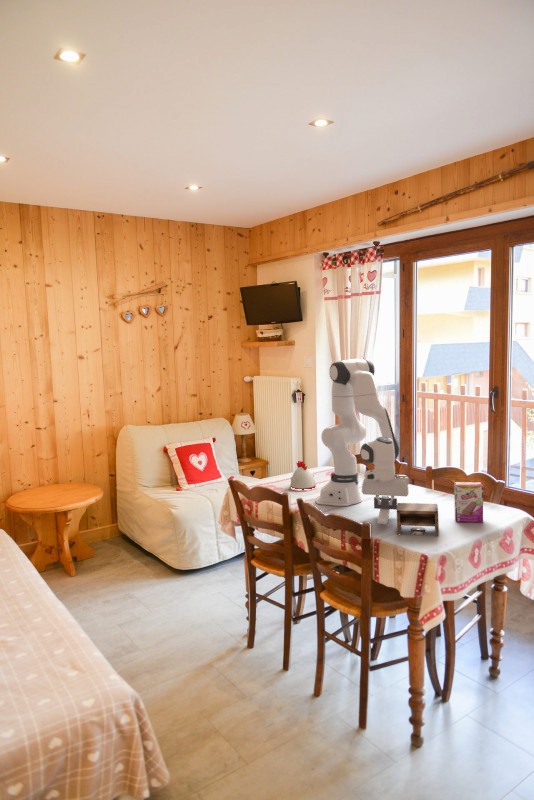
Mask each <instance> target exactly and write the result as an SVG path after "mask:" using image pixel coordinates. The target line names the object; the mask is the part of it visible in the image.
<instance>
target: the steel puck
mask: <svg viewBox="0 0 534 800" xmlns="http://www.w3.org/2000/svg"><path fill="white" fill-rule="evenodd" d="M409 531H410V534H412V533H414V534H413V535H415V534H422V535H425V534H426V532H427V531H426V528H425V527H423V526H411V527H410V529H409Z"/></svg>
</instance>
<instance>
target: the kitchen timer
mask: <svg viewBox="0 0 534 800" xmlns="http://www.w3.org/2000/svg"><path fill="white" fill-rule="evenodd" d="M296 466H297V468H296V469H295V471H294V472H293V474H292V476H291V477H290V485H289V486H290V488H291V487H292V488H295V489H302V490H304V489H312V488H315V487H317V485H316V481H315V474H313V473H312V472H311V471H310V469H308V466H306V463H304V461H303V460H301V461H300V460H298V461H297V462H296ZM315 489H316V488H315Z"/></svg>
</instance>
